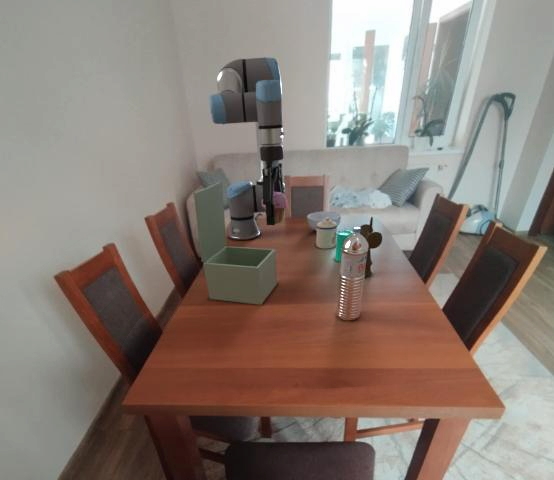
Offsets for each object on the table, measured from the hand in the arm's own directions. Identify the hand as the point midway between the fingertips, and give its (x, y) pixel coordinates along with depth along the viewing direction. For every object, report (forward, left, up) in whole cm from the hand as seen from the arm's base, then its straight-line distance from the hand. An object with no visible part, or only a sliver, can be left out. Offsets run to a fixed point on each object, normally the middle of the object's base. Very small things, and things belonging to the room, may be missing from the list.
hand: (275, 221), depth 117 cm
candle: (-7, +27, -18) cm, 33 cm away
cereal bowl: (-48, +25, -18) cm, 57 cm away
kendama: (+10, +32, -18) cm, 38 cm away
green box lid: (+15, -20, +5) cm, 25 cm away
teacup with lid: (-26, +23, -18) cm, 39 cm away
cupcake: (0, 0, -1) cm, 1 cm away
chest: (+18, -12, -18) cm, 28 cm away
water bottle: (+39, +20, -18) cm, 47 cm away
